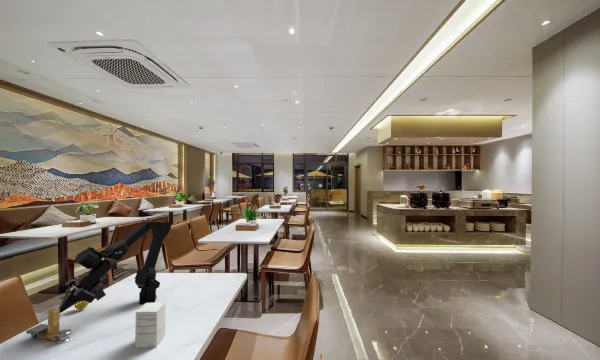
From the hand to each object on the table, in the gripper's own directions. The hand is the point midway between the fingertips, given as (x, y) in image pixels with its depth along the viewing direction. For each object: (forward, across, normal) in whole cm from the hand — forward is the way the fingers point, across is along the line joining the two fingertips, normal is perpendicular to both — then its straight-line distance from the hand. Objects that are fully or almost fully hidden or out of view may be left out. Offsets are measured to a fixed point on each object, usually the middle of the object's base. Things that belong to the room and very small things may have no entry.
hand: (59, 312), depth 94 cm
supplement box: (-7, -30, -21) cm, 37 cm away
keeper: (+10, +5, -3) cm, 11 cm away
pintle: (+6, -4, -7) cm, 10 cm away
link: (+8, +1, -5) cm, 9 cm away
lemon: (-1, +20, -14) cm, 25 cm away
